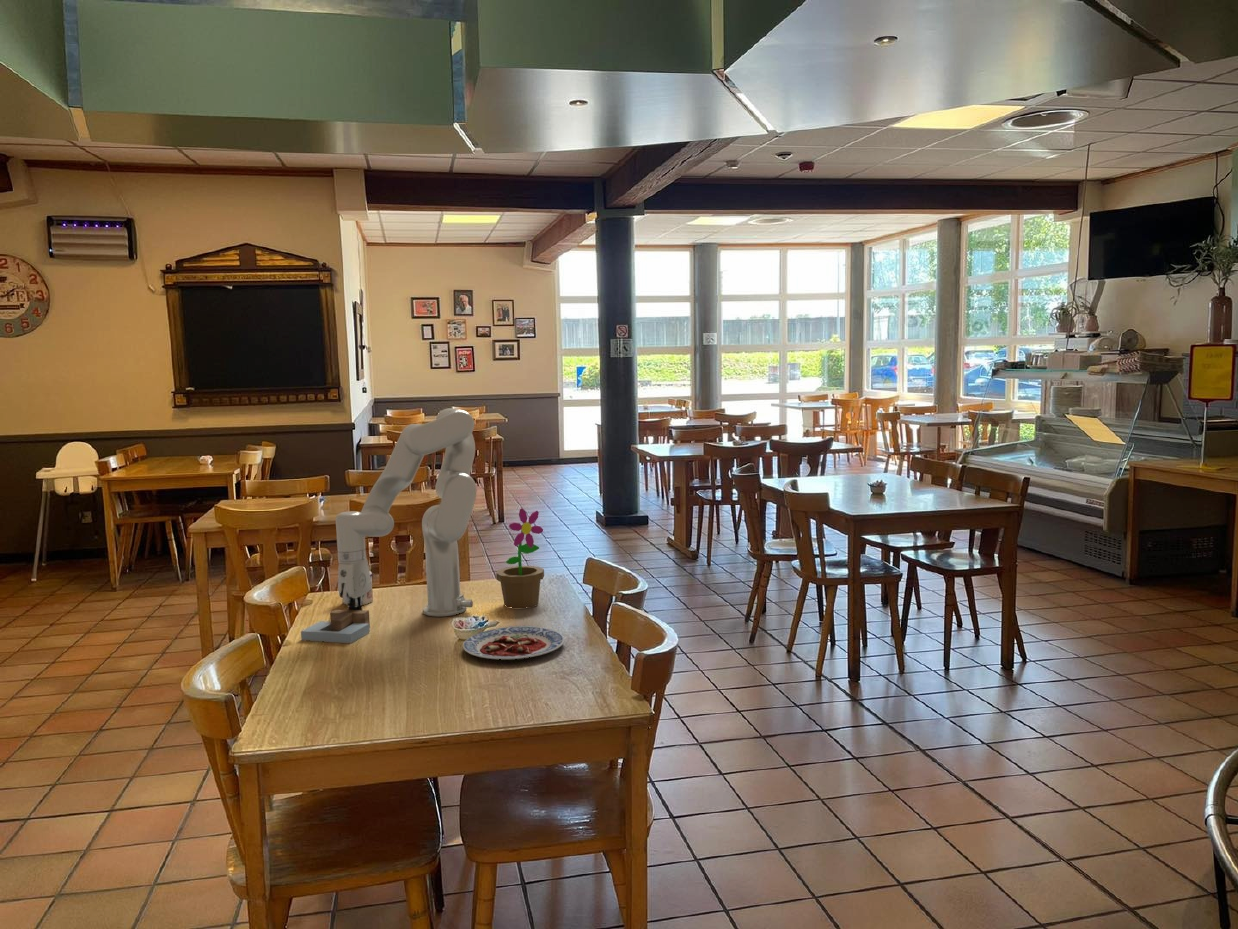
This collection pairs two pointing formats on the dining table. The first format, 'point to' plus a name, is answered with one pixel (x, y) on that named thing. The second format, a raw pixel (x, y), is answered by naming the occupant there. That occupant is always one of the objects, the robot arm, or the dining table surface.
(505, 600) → the flowerpot
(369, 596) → the teacup with lid
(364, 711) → the dining table surface
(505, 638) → the ceramic plate
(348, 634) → the dock
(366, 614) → the t block
